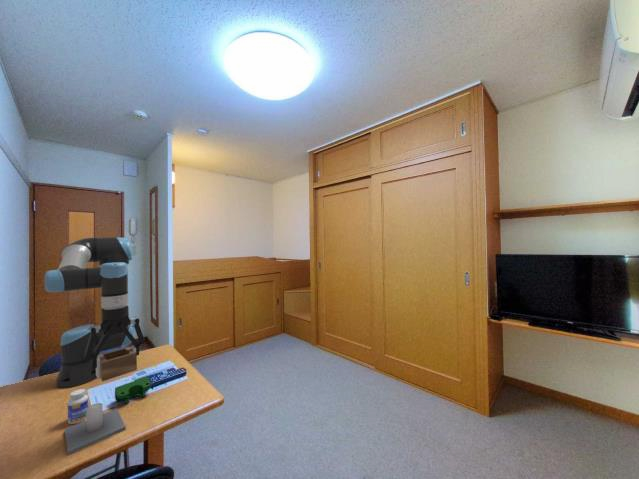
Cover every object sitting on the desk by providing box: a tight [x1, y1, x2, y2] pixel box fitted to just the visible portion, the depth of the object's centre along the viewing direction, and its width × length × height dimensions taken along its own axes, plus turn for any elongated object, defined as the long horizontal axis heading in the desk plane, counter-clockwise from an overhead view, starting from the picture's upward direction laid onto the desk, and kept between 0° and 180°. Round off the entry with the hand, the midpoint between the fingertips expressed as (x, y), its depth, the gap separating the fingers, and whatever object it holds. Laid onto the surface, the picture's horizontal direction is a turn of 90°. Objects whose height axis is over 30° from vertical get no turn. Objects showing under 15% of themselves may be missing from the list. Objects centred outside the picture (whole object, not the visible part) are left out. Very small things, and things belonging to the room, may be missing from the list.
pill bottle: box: [67, 388, 89, 425], centre depth 94 cm, size 5×5×10 cm
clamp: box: [114, 376, 152, 405], centre depth 106 cm, size 12×6×9 cm, turn 132°
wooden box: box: [98, 345, 138, 382], centre depth 93 cm, size 10×10×6 cm
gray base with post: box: [64, 402, 127, 456], centre depth 88 cm, size 14×14×8 cm
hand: (116, 370), depth 93 cm, fingers closed on wooden box, 9 cm apart
